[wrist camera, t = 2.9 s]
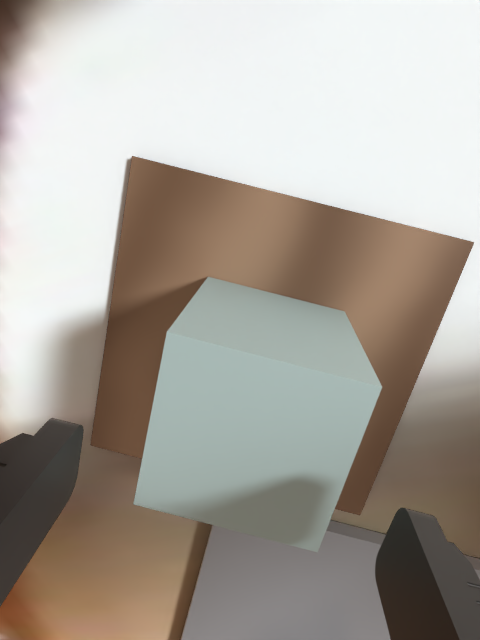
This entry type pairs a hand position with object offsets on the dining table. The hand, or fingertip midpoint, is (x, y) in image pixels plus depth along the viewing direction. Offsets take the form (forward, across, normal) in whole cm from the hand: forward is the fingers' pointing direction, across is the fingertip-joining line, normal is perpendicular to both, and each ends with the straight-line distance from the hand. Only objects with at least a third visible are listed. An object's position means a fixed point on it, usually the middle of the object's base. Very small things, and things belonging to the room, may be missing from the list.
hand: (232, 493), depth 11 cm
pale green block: (+9, 0, 0) cm, 9 cm away
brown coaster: (+9, 0, 0) cm, 9 cm away
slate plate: (+9, -7, +16) cm, 20 cm away
